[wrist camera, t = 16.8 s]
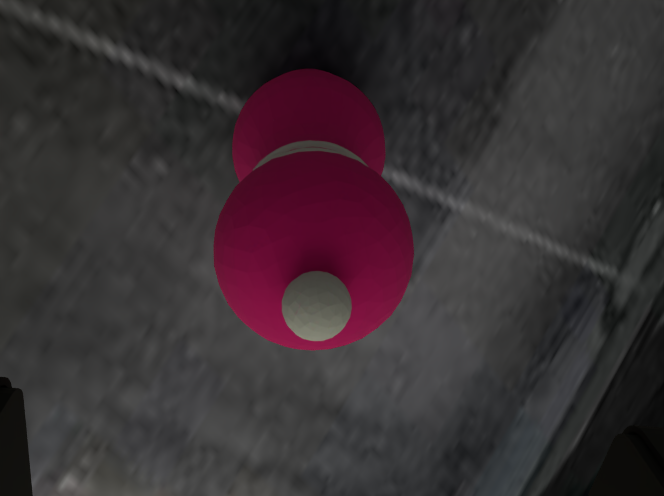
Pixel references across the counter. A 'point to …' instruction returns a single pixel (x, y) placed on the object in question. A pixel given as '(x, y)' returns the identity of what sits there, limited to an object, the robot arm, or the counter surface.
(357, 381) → the counter surface
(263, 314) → the pepper mill
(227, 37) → the counter surface
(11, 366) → the counter surface
